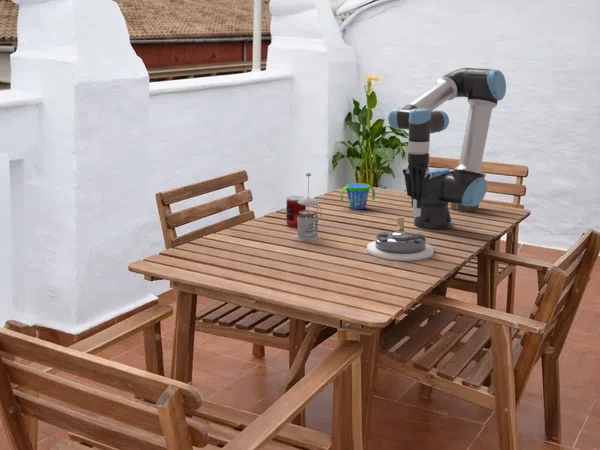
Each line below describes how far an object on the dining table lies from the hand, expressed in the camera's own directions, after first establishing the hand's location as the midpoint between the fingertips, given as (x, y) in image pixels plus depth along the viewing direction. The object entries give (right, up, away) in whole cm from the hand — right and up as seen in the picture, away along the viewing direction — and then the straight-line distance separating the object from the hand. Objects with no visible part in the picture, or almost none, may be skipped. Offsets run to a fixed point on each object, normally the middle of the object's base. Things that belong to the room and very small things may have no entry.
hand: (416, 216), depth 308 cm
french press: (-39, -8, +17) cm, 43 cm away
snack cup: (-17, +4, +66) cm, 68 cm away
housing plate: (-6, -13, -2) cm, 14 cm away
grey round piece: (-6, -11, -3) cm, 13 cm away
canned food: (-44, -3, +36) cm, 57 cm away
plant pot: (+31, +4, +67) cm, 74 cm away
